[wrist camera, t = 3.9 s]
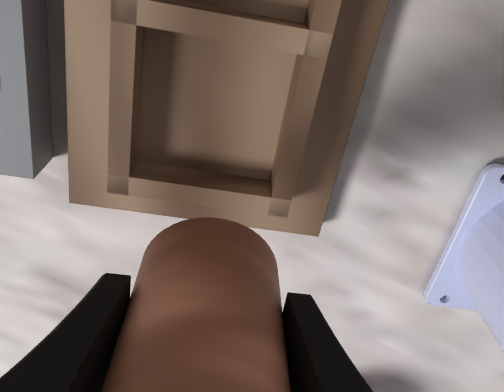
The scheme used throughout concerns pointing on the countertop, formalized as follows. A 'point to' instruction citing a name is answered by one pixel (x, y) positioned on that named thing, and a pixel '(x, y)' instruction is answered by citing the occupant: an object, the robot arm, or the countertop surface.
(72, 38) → the board
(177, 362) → the wooden peg
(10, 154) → the stand
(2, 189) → the countertop surface
